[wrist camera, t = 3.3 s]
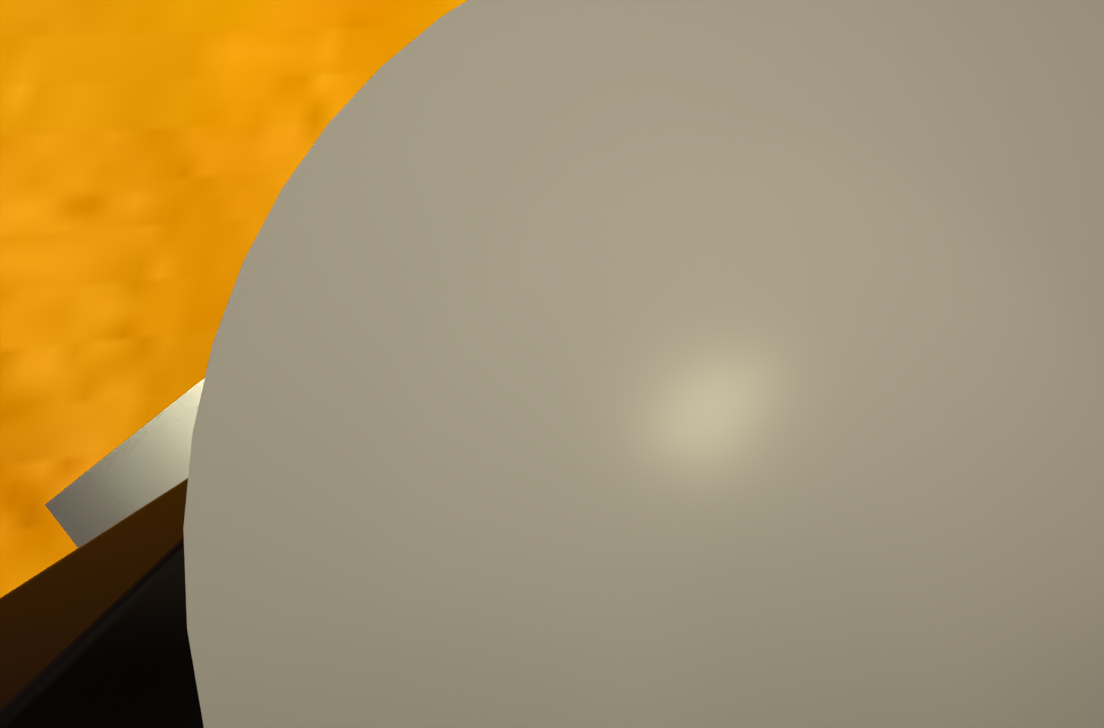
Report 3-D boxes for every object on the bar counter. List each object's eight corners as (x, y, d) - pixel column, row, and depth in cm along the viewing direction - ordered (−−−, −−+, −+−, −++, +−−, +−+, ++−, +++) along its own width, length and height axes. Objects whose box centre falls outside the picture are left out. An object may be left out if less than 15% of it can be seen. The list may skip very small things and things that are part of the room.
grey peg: (797, 537, 15) (1817, 496, 3) (595, 753, 14) (1028, 1957, 2) (602, 337, 16) (831, -267, 4) (395, 523, 15) (-112, 421, 3)
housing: (1010, 545, 16) (1170, 545, 12) (587, 1042, 13) (614, 1247, 9) (602, 153, 18) (625, 43, 14) (166, 515, 15) (44, 504, 11)
